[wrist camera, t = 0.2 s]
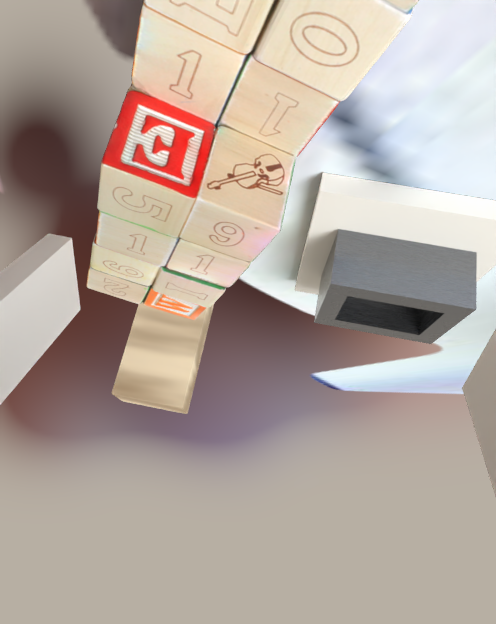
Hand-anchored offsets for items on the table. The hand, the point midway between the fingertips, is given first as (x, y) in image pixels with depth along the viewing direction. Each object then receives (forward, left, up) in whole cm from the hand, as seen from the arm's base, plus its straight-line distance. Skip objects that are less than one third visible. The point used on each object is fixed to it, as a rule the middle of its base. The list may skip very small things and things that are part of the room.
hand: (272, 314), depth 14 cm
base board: (+19, +8, -15) cm, 26 cm away
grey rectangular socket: (+19, +8, -13) cm, 25 cm away
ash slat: (+19, -8, -15) cm, 26 cm away
